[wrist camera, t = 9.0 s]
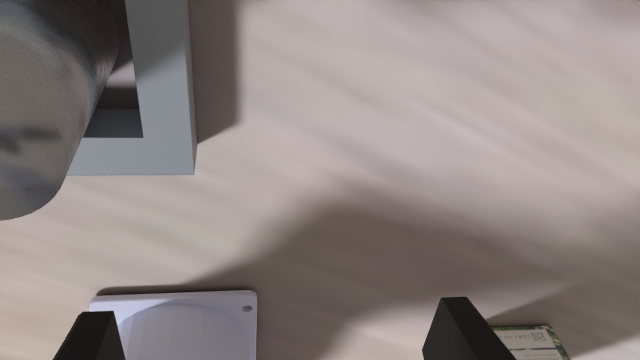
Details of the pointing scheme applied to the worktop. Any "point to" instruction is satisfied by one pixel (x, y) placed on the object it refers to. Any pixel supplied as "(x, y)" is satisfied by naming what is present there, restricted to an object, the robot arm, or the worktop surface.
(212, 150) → the worktop surface
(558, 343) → the syrup box
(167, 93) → the jig
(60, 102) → the cylinder
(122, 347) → the robot arm
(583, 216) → the worktop surface
